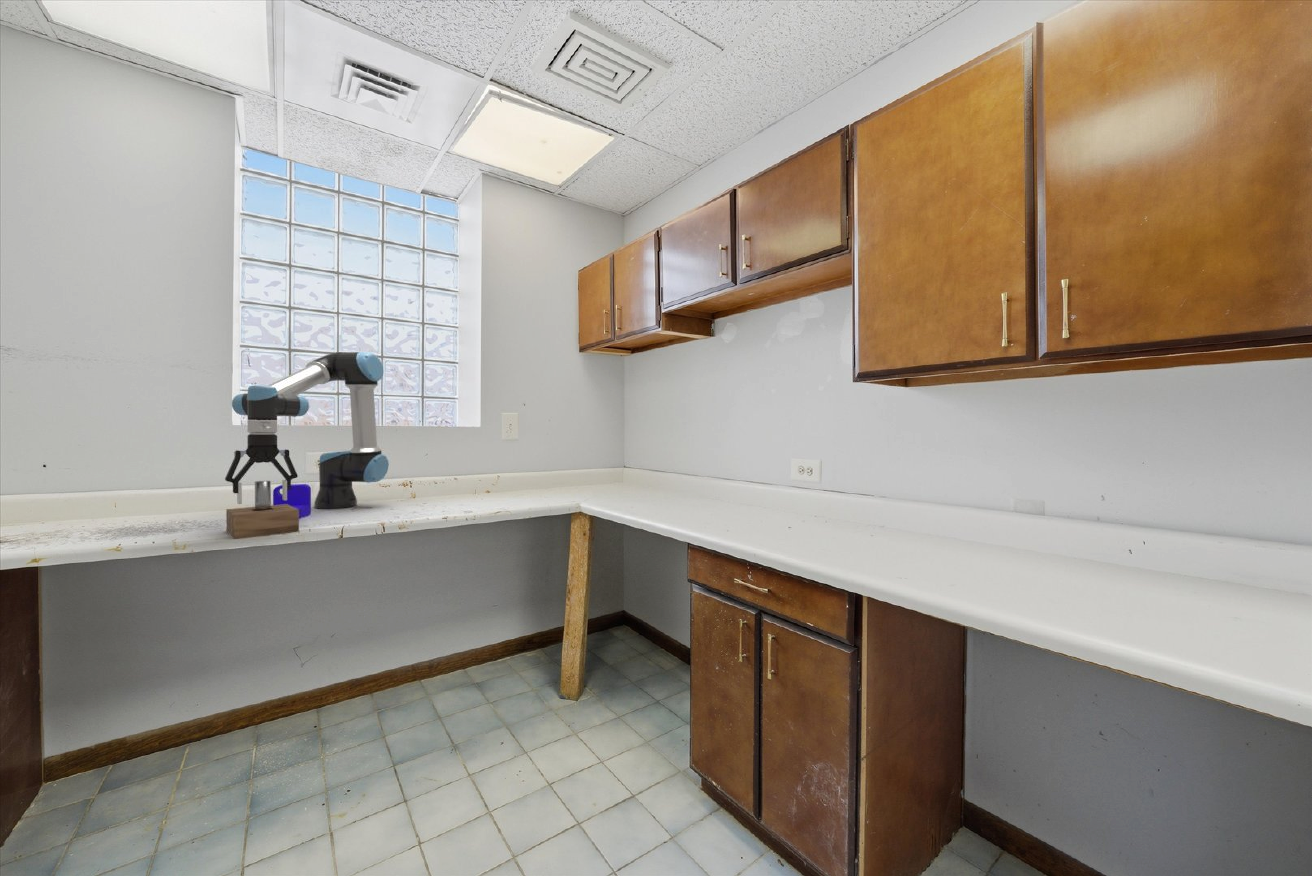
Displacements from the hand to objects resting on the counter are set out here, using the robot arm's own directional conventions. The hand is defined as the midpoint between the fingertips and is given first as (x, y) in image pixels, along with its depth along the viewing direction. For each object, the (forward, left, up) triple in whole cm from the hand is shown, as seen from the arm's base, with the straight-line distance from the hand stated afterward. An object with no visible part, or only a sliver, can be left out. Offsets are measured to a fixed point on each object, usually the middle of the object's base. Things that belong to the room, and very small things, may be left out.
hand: (262, 501), depth 159 cm
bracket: (-20, +11, -10) cm, 25 cm away
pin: (0, 0, -7) cm, 7 cm away
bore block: (0, 0, -9) cm, 9 cm away
